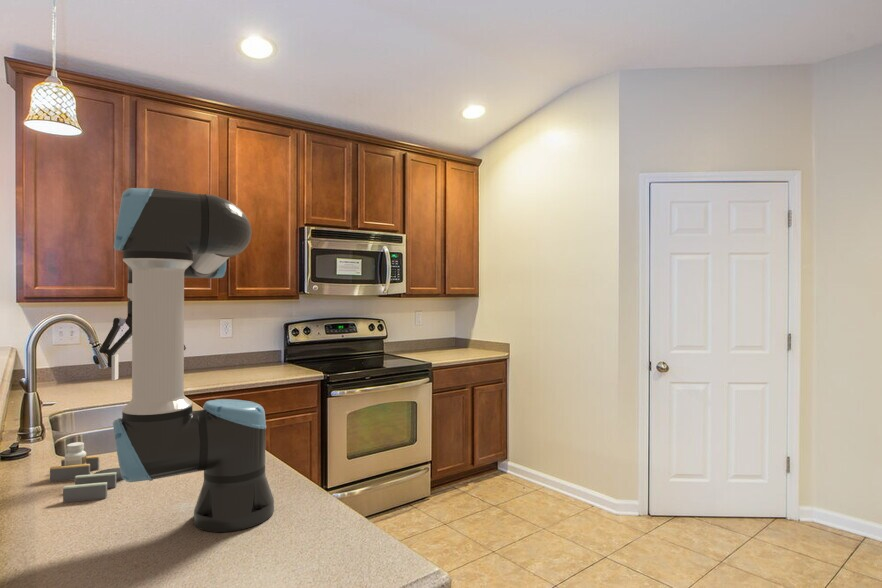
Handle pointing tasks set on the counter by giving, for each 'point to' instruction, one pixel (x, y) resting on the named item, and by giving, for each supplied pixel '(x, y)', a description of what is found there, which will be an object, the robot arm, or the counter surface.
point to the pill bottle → (75, 454)
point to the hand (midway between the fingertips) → (143, 378)
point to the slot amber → (73, 469)
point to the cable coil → (117, 470)
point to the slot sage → (89, 487)
